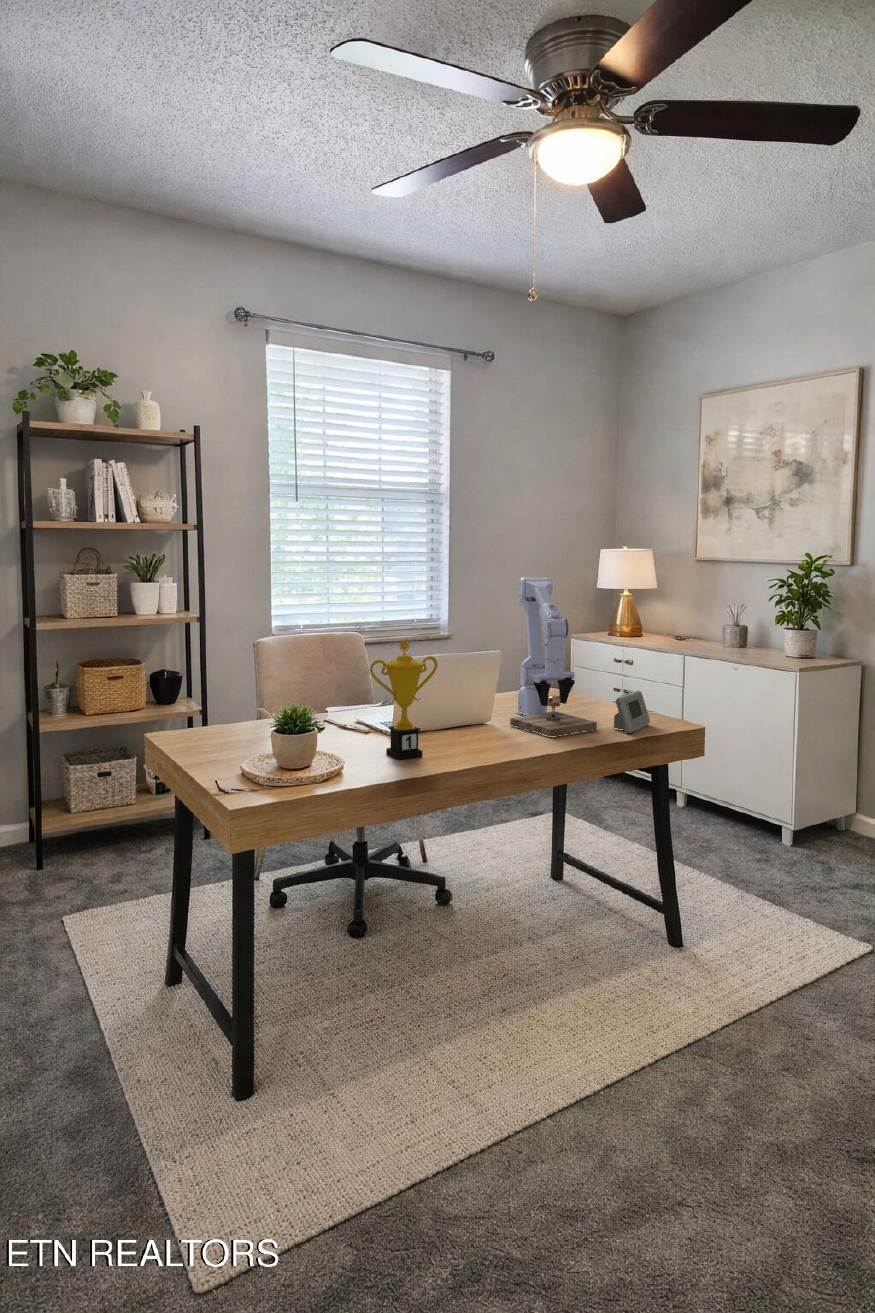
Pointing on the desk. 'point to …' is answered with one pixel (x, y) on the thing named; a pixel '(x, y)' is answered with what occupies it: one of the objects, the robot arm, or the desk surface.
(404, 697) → the trophy
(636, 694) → the digital clock
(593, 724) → the block
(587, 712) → the desk surface
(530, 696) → the robot arm
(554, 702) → the plunger
